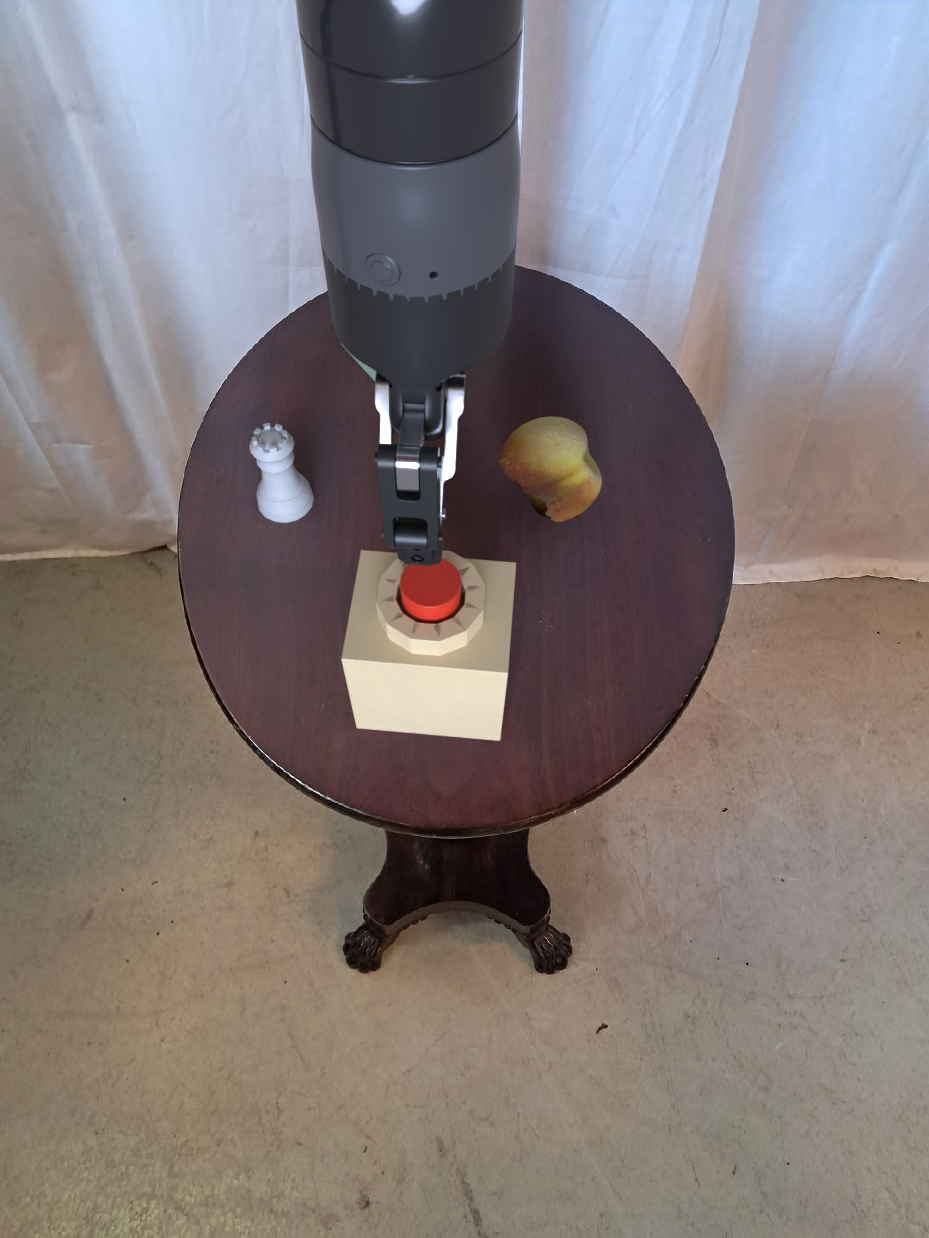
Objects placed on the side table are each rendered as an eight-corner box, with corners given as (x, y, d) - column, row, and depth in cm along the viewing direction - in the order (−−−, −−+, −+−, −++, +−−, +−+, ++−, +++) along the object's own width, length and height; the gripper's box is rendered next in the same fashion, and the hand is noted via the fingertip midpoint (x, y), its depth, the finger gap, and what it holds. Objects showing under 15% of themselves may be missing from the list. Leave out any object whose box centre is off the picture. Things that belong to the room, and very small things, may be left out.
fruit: (575, 555, 71) (588, 490, 64) (479, 517, 72) (481, 450, 66) (610, 486, 74) (626, 418, 67) (518, 452, 76) (524, 381, 69)
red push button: (397, 620, 54) (396, 604, 53) (405, 569, 56) (403, 553, 54) (457, 625, 54) (458, 609, 52) (463, 574, 56) (463, 558, 54)
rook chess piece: (286, 473, 75) (269, 403, 68) (326, 501, 73) (313, 433, 66) (246, 506, 73) (225, 438, 66) (286, 535, 71) (268, 469, 64)
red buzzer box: (356, 728, 63) (337, 644, 53) (372, 629, 67) (358, 533, 57) (500, 741, 63) (509, 659, 52) (507, 640, 67) (518, 545, 56)
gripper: (508, 362, 31) (491, 611, 45) (524, 118, 38) (505, 398, 52) (288, 349, 31) (339, 601, 45) (345, 109, 38) (374, 390, 52)
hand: (428, 492), depth 48 cm, fingers open, 8 cm apart
